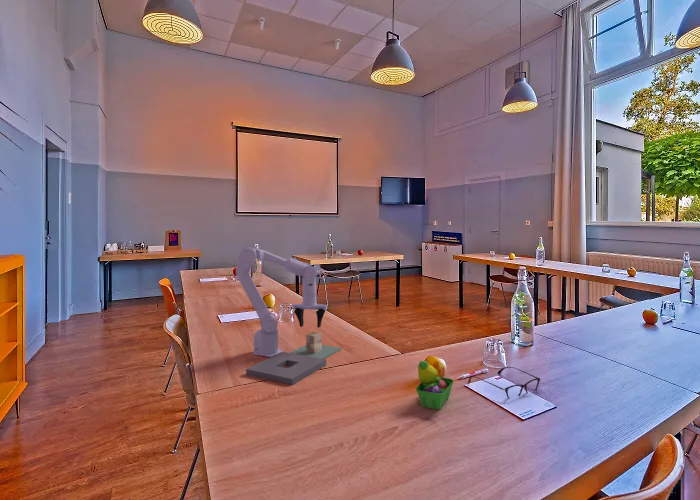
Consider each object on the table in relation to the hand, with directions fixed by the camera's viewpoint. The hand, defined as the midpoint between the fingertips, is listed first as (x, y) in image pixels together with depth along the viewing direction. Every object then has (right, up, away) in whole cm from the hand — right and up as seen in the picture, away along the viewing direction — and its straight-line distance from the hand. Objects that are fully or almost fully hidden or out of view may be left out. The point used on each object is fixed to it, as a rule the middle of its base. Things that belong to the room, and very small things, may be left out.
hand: (310, 326), depth 154 cm
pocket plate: (-6, -11, -23) cm, 26 cm away
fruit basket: (+40, -11, -49) cm, 64 cm away
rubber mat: (+2, -10, -4) cm, 11 cm away
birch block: (+2, -9, -4) cm, 10 cm away
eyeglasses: (+64, -11, -39) cm, 76 cm away
